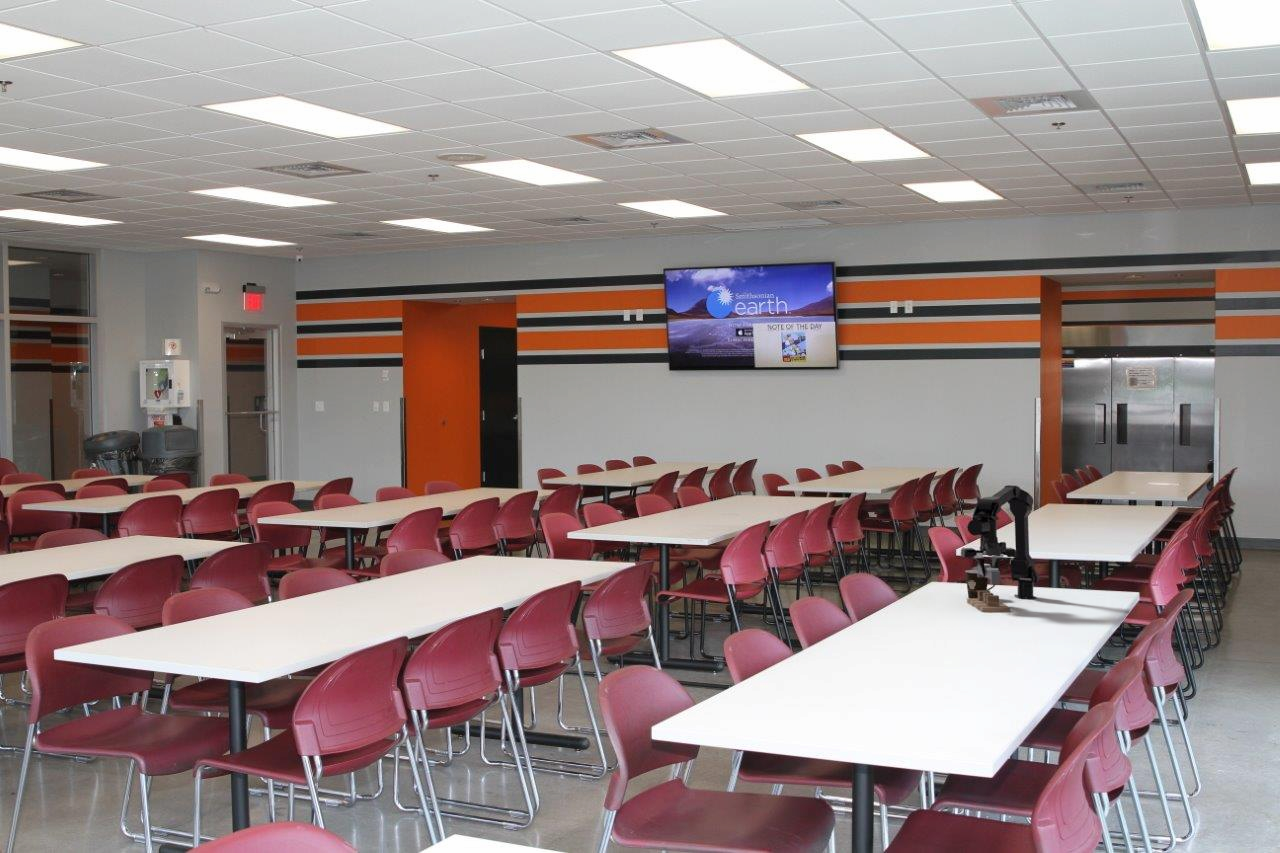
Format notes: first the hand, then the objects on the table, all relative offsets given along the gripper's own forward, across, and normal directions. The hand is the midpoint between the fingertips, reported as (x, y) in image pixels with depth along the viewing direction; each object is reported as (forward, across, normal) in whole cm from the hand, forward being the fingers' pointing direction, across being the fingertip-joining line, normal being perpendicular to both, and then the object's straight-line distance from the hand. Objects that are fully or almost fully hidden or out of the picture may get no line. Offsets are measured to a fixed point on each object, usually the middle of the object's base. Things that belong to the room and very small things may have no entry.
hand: (988, 576), depth 440 cm
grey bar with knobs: (+2, 0, 0) cm, 2 cm away
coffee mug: (+11, +2, +19) cm, 22 cm away
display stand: (+11, 0, 0) cm, 11 cm away
